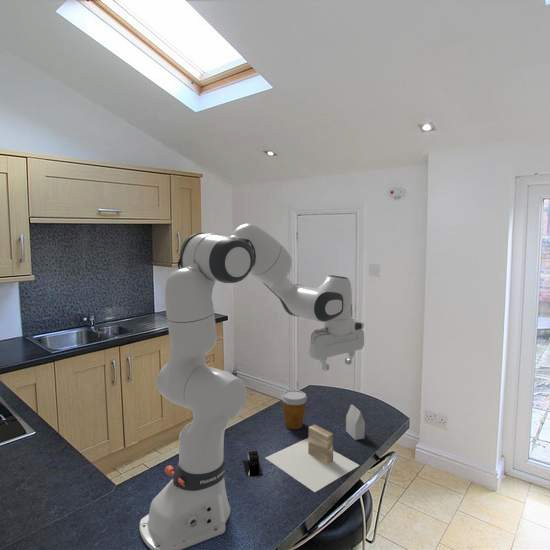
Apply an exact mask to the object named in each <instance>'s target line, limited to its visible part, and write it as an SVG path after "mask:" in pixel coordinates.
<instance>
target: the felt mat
mask: <svg viewBox="0 0 550 550" xmlns="http://www.w3.org/2000/svg"><path fill="white" fill-rule="evenodd" d="M308 439H309V437H307V438H305V439H302V440H299V441H298V442H296V443H294V444H292V445H290V446H287V447H285V448H284V449H280V450H279V451H277V452H275V453H272V454H270V455H268V456H266V457H265V459H266V460H267V461H268V462H270V463H272V464H273V465H274V466H276V467H277V468H279V469H280V470H282V471H283V472H284V473H286V474H288V475H289V476H290V477H291V478H293V479H295V480H296V481H298V482H299V483H301V484H302V485H303V486H304V487H306V488H308V490H311V491H312V492H313V493H316V492H317V491H320V490H322V489H323V488H324V487H327V486H328V485H329V484H332V483H334V482H335V481H336V480H337V479H340V478H341V477H343V476H345V475H346V474H348V473H351V472H352V471H353V470H355V469H356V468H358V467H360V464H358V463H356V462H355V461H353V460H351V459H349V458H348V457H345V456H344V455H342V454H340V453H339V452H336V451H335V450H333V461H332V462H330V463H328V464H325V463H324V462H322V461H320V460H319V459H317V458H315V457H314V456H312V455H310V454H309V453H308Z"/></svg>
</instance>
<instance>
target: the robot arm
mask: <svg viewBox="0 0 550 550" xmlns="http://www.w3.org/2000/svg"><path fill="white" fill-rule="evenodd" d="M179 250H180V251H179V257H178V258H179V259H178V261H177V267H178V269H176V270H174V271H172V272H171V273H170V274H169V275H168V276H167V278H166V282H165V292H164V293H165V295H164V302H165V305H164V306H165V314H166V320H167V328H168V337H169V347H170V348H169V357H168V360H167V362H166V363H165V364H164V365H163V366H162V367H161V369H160V371H159V372H158V375H157V378H156V388H157V390H158V393H159V394H160V395H162V396H163V397H164V398H165V399H166V400H168V401H169V402H171V403H172V404H175V405H178V406H180V407H182V408H185V409H189V410H191V413H192V421H191V422H189V423H187V424H186V425H185V426H184V427H183V428H182V429H181V430H180V433H179V435H178V455H179V456H178V459H179V460H178V463H177V464H176V468H174V467H173V466H172V465H171V464H170V465H167V466H166V467H165V469H164V472H165V474H166V475H167V476H168V477H172V478H171V479H170V481H169V482H168V483H167V484H166V485H165V486H164V487H163V489H162V490H161V491H160V492H159V493H158V494H157V495H156V496H155V497H154V498H153V499H152V501H151V502H150V506H149V513H148V514H146V515H145V516H144V517H142V518H141V519H140V521H139V534H140V537H141V539H142V540H143V542H144V543H145V545H146V546H147V547H148V548H149V550H184V549H187V548H189V547H192V546H194V545H197V544H200V543H202V542H204V541H207V540H210V539H212V538H215V537H218V536H219V535H223V534H224V533H225V532H226V523H227V521H228V519H229V518H230V516H231V506H230V503H229V501H228V496H227V490H226V482H225V476H226V458H225V456H224V450H225V449H224V448H225V447H224V441H225V439H224V438H225V431H226V428H227V426H228V423H229V422H230V421H231V420H233V419H234V418H236V417H237V416H239V414H240V413H241V412H242V411H243V409H244V407H245V405H246V402H247V398H248V397H247V396H248V394H247V393H248V391H247V387H246V383H245V382H244V381H243V380H242V379H241V378H239V377H237V375H235V374H233V373H231V372H229V371H226V370H222V369H220V368H216V367H215V368H214V367H213V366H209V365H208V364H207V362H206V355H207V354H208V353H209V352H211V351H212V350H213V348H215V346H216V344H217V341H218V334H217V323H216V318H215V310H214V308H215V307H214V303H213V289H214V286H215V284H216V282H220V283H224V284H234V283H238V282H242V280H244V279H245V278H247V277H248V276H249V274H251V275H252V276H254V278H256V279H258V280H259V281H261V283H262V284H263V285H265V287H267V289H269V291H270V292H271V293H272V294H274V296H275V297H277V298H278V299H279V301H280V303H281V304H282V307H283V309H284V310H285V312H286V314H288V315H290V316H293V317H301V318H305V319H308V320H313V321H316V322H323V328H319V329H318V328H316V329H315V330H314V331H313V332H311V334H310V342H309V348H308V349H309V350H308V354H309V357H310V358H312V359H313V360H316V361H319V362H320V364H321V370H323V371H324V372H326V371H329V370H330V365H329V364H328V363H327V359H328V358H331V357H335V356H339V355H344V354H347V356H346V358H344V364H345V365H347V366H350V365H352V364H353V362H352V361H353V358H354V356H355V355H356V354H355V353H356V351H359V350H363V348H364V346H365V332H364V327H365V324H364V322H362V321H359V320H356V319H353V317H352V313H351V308H352V306H353V305H352V304H353V293H352V292H353V290H352V284H351V280H350V279H349V278H348V277H346V276H340V275H332V274H330V275H327V276H325V280H324V282H323V283H321V285H319V286H318V287H311V286H305V285H302V284H296V283H294V282H292V281H291V280H290V279H289V278H288V276H289V274H290V272H291V270H292V267H293V258H292V256H291V255H290V253H289V251H288V250H287V249H286V248H285V246H283V245H282V244H281V242H279V241H278V240H277V239H276V238H275V237H273V236H272V235H271V234H269V233H268V232H267V231H265V230H264V229H262V228H260V227H259V226H257V225H256V224H253V223H243V224H240V225H238V226H237V227H236V228H235V229H234V230H233V231H232V232H231V235H230V236H228V235H223V234H220V233H211V232H210V233H207V232H198V233H194V234H192V235H190V236H188V237H187V238H186V239H185V240H184V242H183V243H182V245H181V247H180V249H179Z"/></svg>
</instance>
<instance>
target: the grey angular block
mask: <svg viewBox="0 0 550 550" xmlns="http://www.w3.org/2000/svg"><path fill="white" fill-rule="evenodd" d="M365 428H366V421H365V420H364V417H363V414H362V411H360V410H359V409H358V408H357V407H356V406H355V405H353V404H350V405H349V409H348V411H347V413H346V417H345V432H346V433H348V434H349V436H350V437H352V438H353V439H354V441H356V440H365V436H366V434H365V433H366V430H365Z"/></svg>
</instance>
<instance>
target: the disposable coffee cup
mask: <svg viewBox="0 0 550 550" xmlns="http://www.w3.org/2000/svg"><path fill="white" fill-rule="evenodd" d="M307 401H308V397H307V394H306V393H305V392H304V391H302V390H298V389H289V390H285V391H284V392H282V394H281V402H282V407H283V414H284V415H283V416H284V424H285V427H286V428H287V429H290V430H299V429H301V428H302V427H303V425H304V424H303V423H304V417H305V409H306V405H307V404H306V403H307Z"/></svg>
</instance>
